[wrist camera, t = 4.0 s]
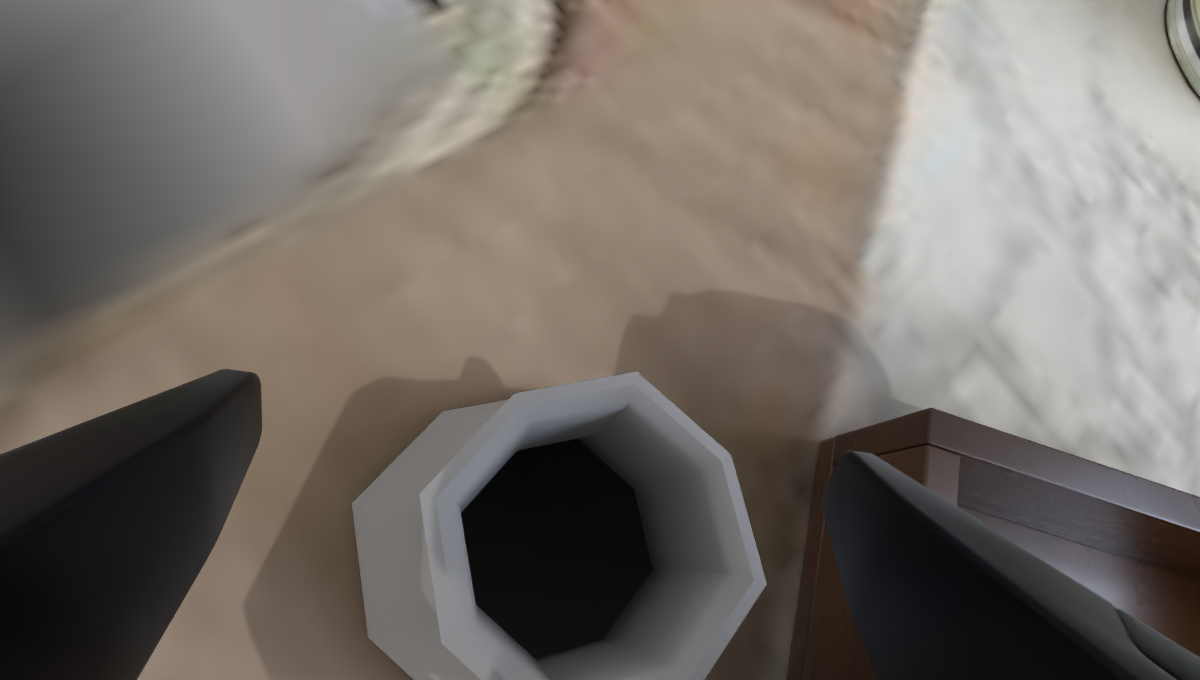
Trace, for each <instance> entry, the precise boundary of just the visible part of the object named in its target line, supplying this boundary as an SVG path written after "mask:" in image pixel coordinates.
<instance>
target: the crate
mask: <svg viewBox="0 0 1200 680" xmlns="http://www.w3.org/2000/svg"><path fill="white" fill-rule="evenodd" d="M846 451H858V452H866V453H871V454H874V455H876V456H877V457H879V458H880V459H882V460H884V461H885V462H887V463H888V464H890V465H892V466H893V467H895V468H896V469H898V470H900V471H901V472H903V473H904V474H906V475H908V476H909V477H911V478H912V479H914V480H916V481H917V482H919V483H920V484H922V485H924V486H925V487H927V488H928V489H930V490H932V491H933V492H935V493H936V494H938V495H940V496H941V497H943V498H944V499H946V500H947V501H949V502H951V503H952V504H954V505H955V506H957V507H959V508H960V509H962V510H963V511H965V512H967V513H968V514H970V515H971V516H973V517H975V518H976V519H978V520H979V521H981V522H983V523H984V524H986V525H987V526H989V527H991V528H992V529H994V530H995V531H997V532H999V533H1000V534H1002V535H1003V536H1005V537H1007V538H1008V539H1010V540H1011V541H1013V542H1015V543H1016V544H1018V545H1019V546H1021V547H1023V548H1024V549H1026V550H1027V551H1029V552H1031V553H1032V554H1034V555H1035V556H1037V557H1039V558H1040V559H1042V560H1043V561H1045V562H1047V563H1048V564H1050V565H1051V566H1053V567H1055V568H1056V569H1058V570H1059V571H1061V572H1063V573H1064V574H1066V575H1067V576H1069V577H1071V578H1072V579H1074V580H1075V581H1077V582H1079V583H1080V584H1082V585H1083V586H1085V587H1087V588H1088V589H1090V590H1091V591H1093V592H1095V593H1096V594H1098V595H1099V596H1101V597H1103V598H1104V599H1106V600H1107V601H1109V602H1111V603H1112V604H1113V605H1114V607H1115V608H1120V609H1122V610H1124V611H1125V612H1127V613H1128V614H1130V615H1132V616H1133V617H1135V618H1136V619H1138V620H1140V621H1141V622H1143V623H1144V624H1146V625H1148V626H1149V627H1151V628H1153V629H1154V630H1156V631H1157V632H1159V633H1161V634H1162V635H1164V636H1166V637H1167V638H1169V639H1170V640H1172V641H1174V642H1175V643H1177V644H1179V645H1180V646H1182V647H1184V648H1185V649H1187V650H1188V651H1190V652H1192V653H1193V654H1195V655H1197V656H1198V657H1200V497H1198V496H1195V495H1192V494H1189V493H1186V492H1183V491H1180V490H1177V489H1174V488H1171V487H1168V486H1165V485H1162V484H1159V483H1156V482H1153V481H1150V480H1147V479H1144V478H1141V477H1138V476H1135V475H1132V474H1129V473H1126V472H1123V471H1120V470H1117V469H1114V468H1111V467H1108V466H1105V465H1102V464H1099V463H1096V462H1093V461H1090V460H1087V459H1084V458H1081V457H1078V456H1075V455H1072V454H1069V453H1065V452H1062V451H1059V450H1056V449H1053V448H1050V447H1047V446H1044V445H1041V444H1038V443H1035V442H1032V441H1029V440H1026V439H1023V438H1020V437H1017V436H1014V435H1011V434H1008V433H1005V432H1002V431H999V430H996V429H993V428H990V427H987V426H984V425H981V424H978V423H975V422H972V421H969V420H966V419H963V418H960V417H957V416H954V415H951V414H948V413H945V412H942V411H939V410H936V409H933V408H928V409H925V410H921V411H918V412H915V413H911V414H908V415H905V416H901V417H898V418H895V419H891V420H888V421H885V422H881V423H878V424H875V425H871V426H868V427H865V428H861V429H858V430H855V431H851V432H848V433H845V434H841V435H838V436H836V437H834V438H830V439H827V440H823V441H822V442H821V443H820V450H819V457H818V464H817V471H816V478H815V485H814V492H813V499H812V506H811V513H810V520H809V527H808V534H807V541H806V548H805V555H804V562H803V569H802V576H801V583H800V590H799V597H798V604H797V611H796V618H795V624H794V631H793V638H792V645H791V652H790V659H789V666H788V673H787V680H876V677H875V675H874V672H873V669H872V667H871V664H870V661H869V659H868V656H867V654H866V651H865V648H864V646H863V643H862V640H861V638H860V635H859V632H858V630H857V627H856V625H855V622H854V619H853V617H852V614H851V611H850V608H849V605H848V602H847V599H846V596H845V593H844V589H843V586H842V582H841V579H840V575H839V571H838V567H837V564H836V560H835V556H834V552H833V549H832V545H831V541H830V537H829V534H828V530H827V526H826V522H825V519H824V515H823V511H822V503H821V502H822V495H823V491H824V489H825V487H826V485H827V482H828V480H829V478H830V476H831V474H832V471H833V469H834V467H835V465H836V463H837V460H838V459H839V457H840V455H841V454H842V453H844V452H846Z"/></svg>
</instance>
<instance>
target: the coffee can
mask: <svg viewBox="0 0 1200 680" xmlns="http://www.w3.org/2000/svg"><path fill="white" fill-rule="evenodd" d="M1166 20H1167V31H1168V36H1169V40H1170V43H1171V46H1172V49H1173V51H1174V54H1175V56H1176V58H1177V61H1178V63H1179V65H1180V67H1181V69H1182V71H1183V73H1184V74H1185V76H1186V77H1187V79H1188V81H1189V83H1190V84H1191V86H1192V88H1193V89H1194V90H1195V92H1196V93H1197V94H1198V95H1199V96H1200V0H1168V4H1167V9H1166Z"/></svg>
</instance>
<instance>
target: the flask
mask: <svg viewBox="0 0 1200 680" xmlns="http://www.w3.org/2000/svg"><path fill="white" fill-rule="evenodd" d="M352 510H353V518H354V526H355V534H356V543H357V551H358V559H359V567H360V575H361V584H362V592H363V600H364V608H365V616H366V625H367V633H368V638H369V639H370V640H371V641H372V642H373V643H375V644H376V645H377V646H378V647H379V648H380V649H381V650H382V651H383V652H384V653H385V654H386V655H387V656H388V657H389V658H391V659H392V660H393V661H394V662H395V663H396V664H397V665H398V666H399V667H400V668H401V669H402V670H403V671H404V672H406V673H407V674H408V675H409V676H410V677H411V678H412V679H413V680H705V678H706V677H707V675H708V674H709V672H710V671H711V669H712V668H713V666H714V665H715V663H716V662H717V660H718V658H719V657H720V655H721V654H722V652H723V651H724V649H725V648H726V646H727V645H728V643H729V642H730V640H731V639H732V637H733V636H734V634H735V632H736V631H737V629H738V628H739V626H740V625H741V623H742V622H743V620H744V619H745V617H746V616H747V614H748V613H749V611H750V609H751V608H752V606H753V605H754V603H755V602H756V600H757V599H758V597H759V596H760V594H761V593H762V591H763V590H764V588H765V586H766V585H767V582H766V579H765V575H764V572H763V568H762V564H761V561H760V557H759V554H758V550H757V546H756V543H755V539H754V536H753V532H752V528H751V525H750V521H749V518H748V514H747V510H746V507H745V503H744V499H743V496H742V492H741V489H740V485H739V481H738V478H737V474H736V471H735V467H734V463H733V460H732V456H731V454H730V453H729V452H728V451H727V450H725V449H724V448H723V447H722V446H721V445H720V444H719V443H718V442H716V441H715V440H714V439H713V438H712V437H711V436H710V435H708V434H707V433H706V432H705V431H704V430H703V429H702V428H700V427H699V426H698V425H697V424H696V423H695V422H694V421H693V420H691V419H690V418H689V417H688V416H687V415H686V414H685V413H683V412H682V411H681V410H680V409H679V408H678V407H677V406H675V405H674V404H673V403H672V402H671V401H670V400H669V399H668V398H666V397H665V396H664V395H663V394H662V393H661V392H660V391H658V390H657V389H656V388H655V387H654V386H653V385H652V384H650V383H649V382H648V381H647V380H646V379H645V378H644V377H643V376H641V375H640V374H639V373H638V372H631V373H625V374H620V375H614V376H609V377H603V378H597V379H592V380H586V381H581V382H575V383H569V384H564V385H558V386H553V387H547V388H541V389H536V390H530V391H524V392H519V393H514V394H513V395H512V396H511V397H510V399H508V400H503V401H497V402H492V403H486V404H480V405H475V406H469V407H464V408H458V409H453V410H447V411H442V412H441V413H440V414H439V415H438V416H437V417H436V419H435V420H434V421H433V422H432V423H431V424H430V425H429V426H428V427H427V428H426V429H425V430H424V431H423V432H422V433H421V434H420V435H419V436H418V437H417V438H416V439H415V440H414V441H413V442H412V443H411V444H410V445H409V446H408V447H407V448H406V449H405V450H404V451H403V452H402V453H401V454H400V455H399V456H398V457H397V458H396V459H395V460H394V461H393V462H392V463H391V464H390V465H389V466H388V467H387V468H386V469H385V470H384V471H383V472H382V473H381V474H380V475H379V476H378V477H377V478H376V479H375V480H374V481H373V482H372V483H371V484H370V485H369V486H368V487H367V488H366V489H365V491H364V492H363V493H362V494H361V495H360V496H359V497H358V498H357V499H356V500H355V501H354V502H353V503H352Z"/></svg>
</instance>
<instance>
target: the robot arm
mask: <svg viewBox="0 0 1200 680" xmlns="http://www.w3.org/2000/svg"><path fill="white" fill-rule="evenodd" d="M261 432H262V405H261V382H260V379H259V377H258V376H257V375H256V374H255V373H252V372H245V371H237V370H230V369H223V370H220V371H217V372H214V373H212V374H209V375H206V376H204V377H201V378H199V379H196V380H193V381H191V382H188V383H186V384H183V385H180V386H178V387H175V388H173V389H170V390H167V391H165V392H162V393H160V394H157V395H154V396H152V397H149V398H147V399H144V400H141V401H139V402H136V403H134V404H131V405H128V406H126V407H123V408H120V409H118V410H115V411H113V412H110V413H107V414H105V415H102V416H100V417H97V418H94V419H92V420H89V421H87V422H84V423H81V424H79V425H76V426H74V427H71V428H68V429H66V430H63V431H60V432H58V433H55V434H53V435H50V436H47V437H45V438H42V439H40V440H37V441H34V442H32V443H29V444H27V445H24V446H21V447H19V448H16V449H14V450H11V451H8V452H6V453H3V454H1V455H0V680H137V679H138V677H139V675H140V674H141V672H142V670H143V668H144V667H145V665H146V663H147V661H148V660H149V658H150V656H151V655H152V653H153V651H154V649H155V648H156V646H157V644H158V643H159V641H160V639H161V637H162V636H163V634H164V632H165V631H166V629H167V627H168V625H169V624H170V622H171V620H172V619H173V617H174V615H175V613H176V612H177V610H178V608H179V607H180V605H181V603H182V601H183V600H184V598H185V596H186V594H187V593H188V591H189V589H190V588H191V586H192V584H193V582H194V581H195V579H196V577H197V576H198V574H199V572H200V570H201V569H202V567H203V565H204V564H205V562H206V560H207V558H208V556H209V554H210V553H211V551H212V549H213V547H214V545H215V543H216V541H217V539H218V537H219V535H220V532H221V530H222V528H223V526H224V523H225V521H226V519H227V516H228V514H229V512H230V510H231V507H232V505H233V503H234V500H235V498H236V496H237V493H238V491H239V489H240V486H241V484H242V482H243V479H244V477H245V475H246V472H247V470H248V468H249V465H250V463H251V461H252V458H253V456H254V454H255V451H256V449H257V447H258V444H259V441H260V437H261ZM821 503H822V511H823V515H824V519H825V522H826V526H827V530H828V534H829V537H830V541H831V545H832V549H833V552H834V556H835V560H836V564H837V567H838V571H839V575H840V579H841V582H842V586H843V589H844V593H845V596H846V599H847V602H848V605H849V608H850V611H851V614H852V617H853V619H854V622H855V625H856V627H857V630H858V632H859V635H860V638H861V640H862V643H863V646H864V648H865V651H866V654H867V656H868V659H869V661H870V664H871V667H872V669H873V672H874V675H875V677H876V680H1200V657H1198V656H1197V655H1195V654H1193V653H1192V652H1190V651H1188V650H1187V649H1185V648H1184V647H1182V646H1180V645H1179V644H1177V643H1175V642H1174V641H1172V640H1170V639H1169V638H1167V637H1166V636H1164V635H1162V634H1161V633H1159V632H1157V631H1156V630H1154V629H1153V628H1151V627H1149V626H1148V625H1146V624H1144V623H1143V622H1141V621H1140V620H1138V619H1136V618H1135V617H1133V616H1132V615H1130V614H1128V613H1127V612H1125V611H1124V610H1122V609H1120V608H1115V607H1114V605H1113V604H1112V603H1111V602H1109V601H1107V600H1106V599H1104V598H1103V597H1101V596H1099V595H1098V594H1096V593H1095V592H1093V591H1091V590H1090V589H1088V588H1087V587H1085V586H1083V585H1082V584H1080V583H1079V582H1077V581H1075V580H1074V579H1072V578H1071V577H1069V576H1067V575H1066V574H1064V573H1063V572H1061V571H1059V570H1058V569H1056V568H1055V567H1053V566H1051V565H1050V564H1048V563H1047V562H1045V561H1043V560H1042V559H1040V558H1039V557H1037V556H1035V555H1034V554H1032V553H1031V552H1029V551H1027V550H1026V549H1024V548H1023V547H1021V546H1019V545H1018V544H1016V543H1015V542H1013V541H1011V540H1010V539H1008V538H1007V537H1005V536H1003V535H1002V534H1000V533H999V532H997V531H995V530H994V529H992V528H991V527H989V526H987V525H986V524H984V523H983V522H981V521H979V520H978V519H976V518H975V517H973V516H971V515H970V514H968V513H967V512H965V511H963V510H962V509H960V508H959V507H957V506H955V505H954V504H952V503H951V502H949V501H947V500H946V499H944V498H943V497H941V496H940V495H938V494H936V493H935V492H933V491H932V490H930V489H928V488H927V487H925V486H924V485H922V484H920V483H919V482H917V481H916V480H914V479H912V478H911V477H909V476H908V475H906V474H904V473H903V472H901V471H900V470H898V469H896V468H895V467H893V466H892V465H890V464H888V463H887V462H885V461H884V460H882V459H880V458H879V457H877V456H876V455H874V454H871V453H866V452H858V451H846V452H844V453H842V454H841V455H840V457H839V459H838V460H837V463H836V465H835V467H834V469H833V471H832V474H831V476H830V478H829V480H828V482H827V485H826V487H825V489H824V491H823V495H822V502H821Z"/></svg>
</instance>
